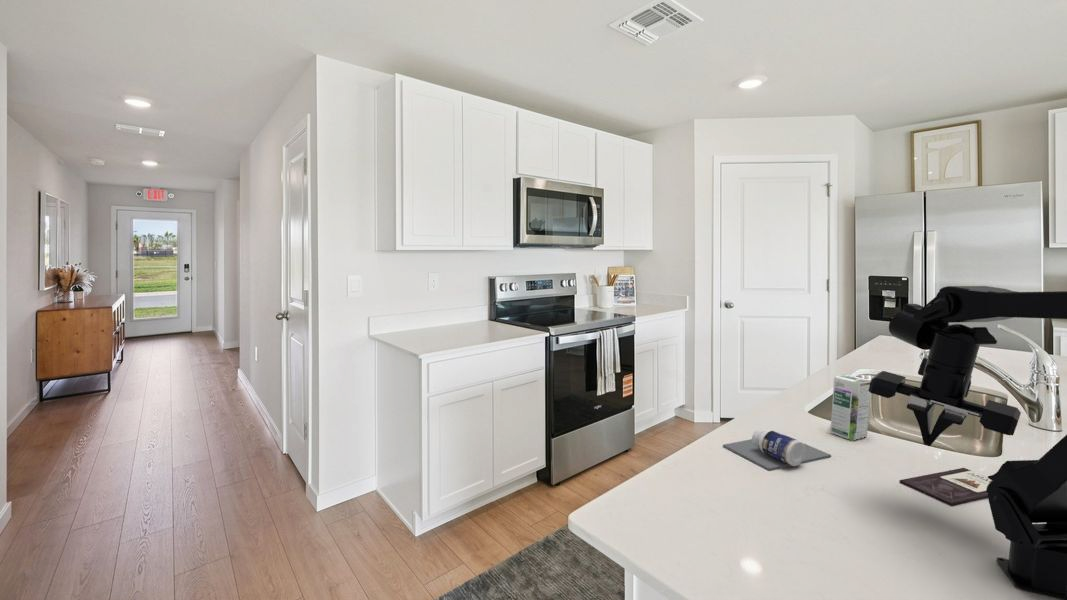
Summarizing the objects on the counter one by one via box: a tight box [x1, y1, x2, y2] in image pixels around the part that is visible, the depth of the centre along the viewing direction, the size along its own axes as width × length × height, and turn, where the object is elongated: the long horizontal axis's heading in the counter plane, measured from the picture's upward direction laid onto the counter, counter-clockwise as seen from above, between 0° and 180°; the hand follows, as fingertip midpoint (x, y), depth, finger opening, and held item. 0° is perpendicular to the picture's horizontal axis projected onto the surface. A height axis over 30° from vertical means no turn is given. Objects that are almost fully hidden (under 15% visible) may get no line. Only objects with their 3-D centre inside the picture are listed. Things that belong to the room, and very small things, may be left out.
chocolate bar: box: [899, 467, 992, 507], centre depth 91 cm, size 9×1×18 cm
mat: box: [722, 438, 832, 472], centre depth 107 cm, size 13×18×1 cm
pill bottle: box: [751, 428, 806, 467], centre depth 102 cm, size 5×5×10 cm
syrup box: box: [829, 374, 872, 442], centre depth 115 cm, size 6×6×14 cm
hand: (927, 444), depth 81 cm, fingers closed
